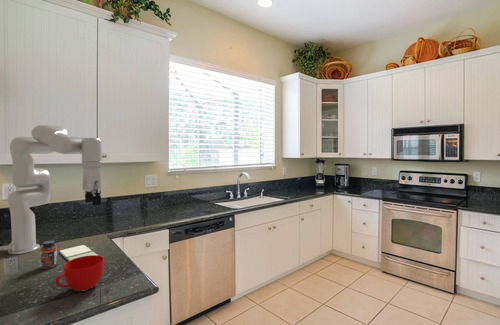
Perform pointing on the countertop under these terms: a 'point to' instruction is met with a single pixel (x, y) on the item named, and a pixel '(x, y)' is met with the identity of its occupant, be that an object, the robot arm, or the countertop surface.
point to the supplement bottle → (48, 255)
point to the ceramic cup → (82, 272)
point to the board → (77, 252)
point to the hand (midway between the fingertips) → (93, 203)
